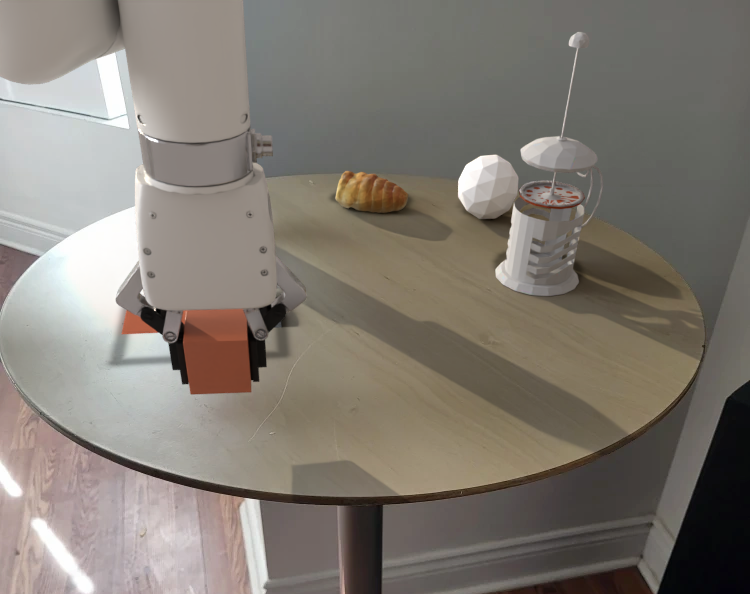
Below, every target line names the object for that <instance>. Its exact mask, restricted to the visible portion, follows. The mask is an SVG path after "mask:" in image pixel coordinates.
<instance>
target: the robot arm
mask: <svg viewBox="0 0 750 594" xmlns="http://www.w3.org/2000/svg"><path fill="white" fill-rule="evenodd" d="M123 50H124V51H125V57H126V64H127V69H128V70H127V71H128V77H129V84H130V89H131V97H132V102H133V108H134V116H135V123H136V127H137V134H138V140H139V146H140V152H141V153H140V155H141V159H142V164H140V165H138V166H137V167H136V169H135V173H134V174H135V176H134V215H135V216H134V219H135V231H136V233H135V234H136V244H137V252H138V261H137V262H136V264H135V265H134V266H133V268H132V269H131V270H130V272H129V273H128V275H127V276H126V278H125V279H124V281H123V282H122V283H121V285H120V286H119V287H118V289H117V291H116V296H115V303H116V304H117V305H118V306H119V307H121V308H123V309H124V310H125V311H126V310H127V311H129V312H131V313H132V314H134V315H137V316H139V317H141V319H142V321H143V322H145V323H146V324H148V325H149V326H150V327H152V328H153V329H154V330H156V331H157V332H159V333H158V334H160V335H161V336H162V339H163V341H164V342H166V343H167V344H168V349H169V355H170V357H169V358H170V363H171V369H172V371H179V373H180V380H181V385H189V381H188V374H187V367H186V360H185V353H184V345H183V338H184V327H185V324H183V322H181V320H182V315H183V310H227V309H243V311H244V314H245V316H246V319H247V321H248V323H249V326H248V348H249V361H250V374H251V381H252V382H253V383H259V382H260V368H267V367H268V365H267V362H268V361H267V347H266V346H267V345H266V340H267V339H268V337H269V333H270V332H271V331H273V330H274V329H275V328H274V327H275V326H276V325H277V324H278V323H280V322H281V323H282V321H283V320H284V319H285V318H286V316H287V314H289V313H290V312H292V311H294V310H295V309H296V308H298V307H299V306H300V305H301V304H303V303H304V302H305V301H306V300H307V298H308V296H307V295H308V294H307V288H306V286H305V285H304V284H303V283H302V281H301V280H300V279H299V278H298V277H297V276H296V275H295V273H293V272H292V271H291V269H289V267H288V266H287V265H286V264H285V263H284V262H283V261H282V260H281V258H279V257H278V255H277V250H276V249H277V248H276V240H275V239H276V238H275V229H274V228H275V227H274V219H273V218H274V217H273V210H272V202H271V197H270V191H269V187H268V182H267V178H266V174H265V171H264V167H263V166H262V165H260V164H258V160H257V159H263V157H273V156H274V148H273V147H274V146H273V135H270V134H269V135H267V134H265V135H263V134H262V133H261V132H256V128H252V127H251V111H250V109H251V108H250V92H249V76H248V60H247V45H246V27H245V9H244V0H0V78H2V79H4V80H6V81H9V82H13V83H17V84H21V85H28V86H29V85H41V84H42V85H43V84H46V83H50V82H52V81H55V80H57V79H59V78H61V77H63V76H65V75H67V74H69V73H71V72H73V71H75V70H77V69H79V68H81V67H82V66H85V65H87V64H88V63H90V62H92V61H95V60H97V59H100V58H104V57H106V56H110V55H112V54H114V53H115V54H116V53H117V52H120V51H123ZM278 288H280V289H281V290H282V292H281V293H279V295H278V296H277V291H278V290H277V289H278ZM141 292H143V294H142V293H141Z"/></svg>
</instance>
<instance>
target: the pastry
mask: <svg viewBox="0 0 750 594" xmlns="http://www.w3.org/2000/svg"><path fill="white" fill-rule="evenodd" d="M408 197H409V194H408V192H407V191H405V189H404V188H402V187H401V186H400V185H398V184H396V183H395V182H392V181H389V180H388V179H387V178H383V177H379V176H378V175H377V174H376V173H369V174H368V173H366V172H365V171H360V172H357V173H355V172H353V171H351V170H345V171H344V172H343V173H342V174H341V177H340V179H339V180H338V184H337V188H336V193H335V197H334V199H335V201H336V202H337V203H338V204H340V205H341V207H343V208H345V209H349V208H353V209H355V210H356V211H360V212H370V213H372V214H374V213H377V214H380V213H381V214H387V213H391V212H399V211H401V210H402V209H404V208H405V206H407V202H408Z"/></svg>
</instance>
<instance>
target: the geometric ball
mask: <svg viewBox="0 0 750 594" xmlns="http://www.w3.org/2000/svg"><path fill="white" fill-rule="evenodd" d="M457 181H458V183H457V186H458V187H457V188H458V189H457V191H458V192H457V198H458V199H459V201H460V203H461V204H462V205H463V207H464V209H465V210H466V212H467V213H469V214H470V215H473V216H474V217H476V218H477V219H478V220H491V219H493V220H494V219H498V217H500V216H501V215H504V214H505V213H507V212H509V211H510V210H511V208H512V207H513V205H514V202H515V201H516V199H517V196H518V194H519V176H518V174H517V172H516V171H515V168H514V167H513V165H512V164H511V162H509V161H508V160H507V159H505V158H503V157H501V156H500V155H498V154H489V155H480V156H478V157H476V158H475V159H473V160H472V161H470V162H468V163H467V164H466V165H465V166H464V168H463V170H462V172H461V174H460V176H459V178H458V180H457Z"/></svg>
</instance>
